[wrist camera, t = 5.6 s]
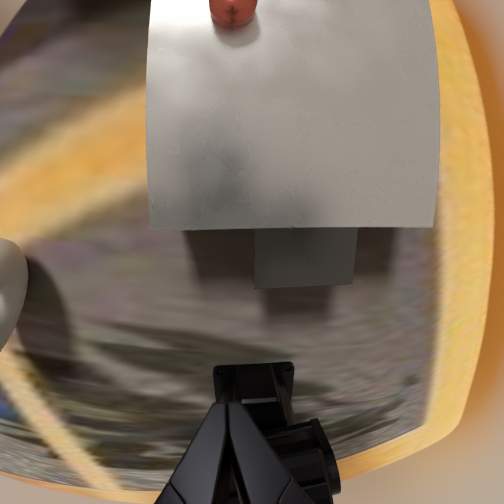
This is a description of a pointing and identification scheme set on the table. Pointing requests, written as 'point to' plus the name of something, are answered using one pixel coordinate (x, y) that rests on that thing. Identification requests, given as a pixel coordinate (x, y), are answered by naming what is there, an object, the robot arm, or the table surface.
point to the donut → (11, 287)
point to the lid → (292, 126)
